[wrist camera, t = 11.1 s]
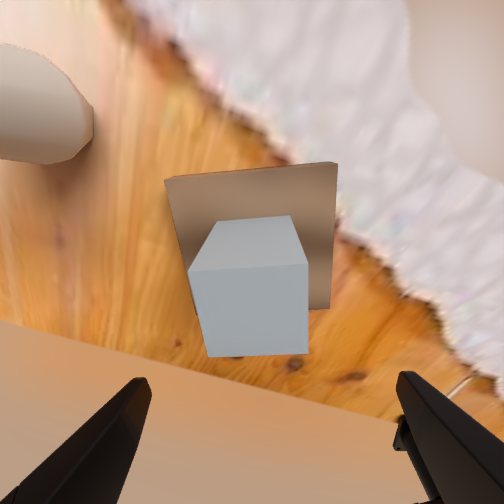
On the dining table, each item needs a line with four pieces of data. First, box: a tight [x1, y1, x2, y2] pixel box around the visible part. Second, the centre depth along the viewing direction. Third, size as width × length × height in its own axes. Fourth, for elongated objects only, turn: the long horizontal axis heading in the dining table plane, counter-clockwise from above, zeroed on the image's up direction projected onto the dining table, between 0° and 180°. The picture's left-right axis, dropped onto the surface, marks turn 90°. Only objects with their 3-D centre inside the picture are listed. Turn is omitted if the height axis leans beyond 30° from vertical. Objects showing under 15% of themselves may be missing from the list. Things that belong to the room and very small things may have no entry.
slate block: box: [187, 215, 308, 357], centre depth 14 cm, size 5×5×7 cm
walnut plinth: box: [164, 162, 338, 315], centre depth 18 cm, size 11×11×2 cm
